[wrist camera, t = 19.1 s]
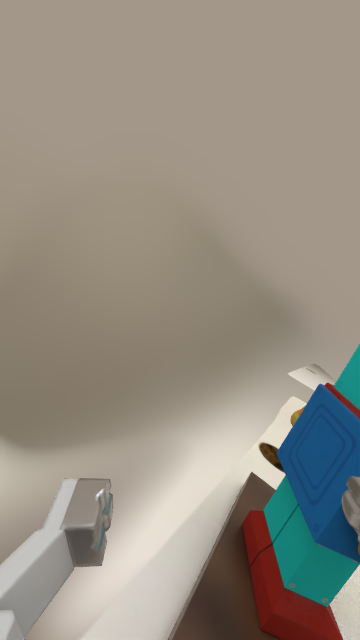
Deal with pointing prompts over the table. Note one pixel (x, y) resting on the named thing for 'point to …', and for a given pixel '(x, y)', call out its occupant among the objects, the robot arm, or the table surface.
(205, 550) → the table surface
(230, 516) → the brown slab
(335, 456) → the toy robot
